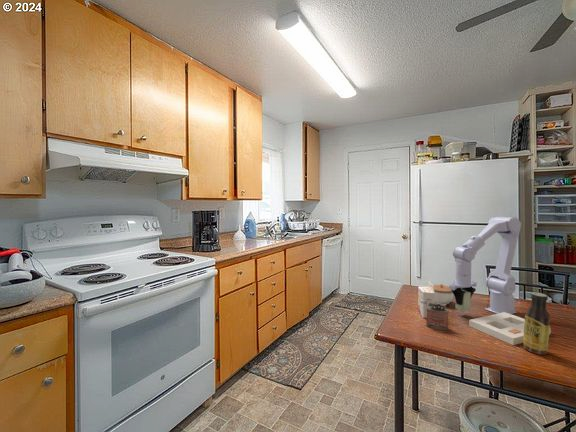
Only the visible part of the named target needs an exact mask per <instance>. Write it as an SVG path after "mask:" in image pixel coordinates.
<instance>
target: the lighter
mask: <svg viewBox="0 0 576 432" xmlns="http://www.w3.org/2000/svg"><path fill="white" fill-rule="evenodd" d="M428 306H432V307H427V308H426V310H427V318H426V323H425V327H426V328H429V329H430V328H431V329H433V330H434V329H435V330H443V331H444V330H449V312H450V310H449V309H447V308H446V305H444V304H440V303H430V302H429V303H428ZM434 307H435V308H434Z"/></svg>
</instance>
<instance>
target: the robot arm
mask: <svg viewBox="0 0 576 432" xmlns="http://www.w3.org/2000/svg"><path fill="white" fill-rule="evenodd" d="M521 228H522V222H521V221H520V219H519V218H518V217H516V216H511V217H508V216H498V215H497V216H492V217H491V218H490V219H489V220H488V223H487V225H486V226H485V227H484V228H483V229H482V230H481V232H479V233H478V235H473V236H470V237H469V239H468V240H467V241H466V242H464V243H463V244H462V245H461V246H457V247H455V248H454V250H453V252H452V256H453V258H454V261H455V280H454V281H453V283H452V284H449V285H448V286H449V289H451V291H452V292H453V297H454V299H455V302H456V303H457V304H458V305H462V303H463V296H464V294H465V292H466V291H468V292H471V298H472V296H473V295H474V293H475V292H476V288H475V287H477V285H478V284H477V283H478V282H477V281H473V280H472V261H473V260H474V259H475V257H476V255H477V253H478V251H480V249H482V248H483V247H484V246H485V245H486V242H485V241H486V240H488V239H489V238H491V237H492V236H493V235H495V234H496V233H497V234H498V235H500V236H501V243H500V247H499V252H498V257H497V261H496V266H495V270H493V271H491V272H489V274H488V277H487V278H486V280H485V285H486V288H487V289H488V291H489V307H485V311H489V312H491V313H495V314H498V313H503V312H506V313H509V314H512V315H514V314H516V313H517V310H516V311H515V302H516V300H515V296H514V293H515V292H516V289H517V287H516V279H515V278H514V276H513V275H512V274H511V271H512V267H513V262H514V258H515V252H516V248H517V243H518V240H519V236H520V232H521ZM463 290H464V291H463Z"/></svg>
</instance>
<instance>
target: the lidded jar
mask: <svg viewBox="0 0 576 432" xmlns="http://www.w3.org/2000/svg"><path fill="white" fill-rule="evenodd" d="M433 285H434V291H435V304H436V303H440V304H444V305H445V306H447V304H448V305H449V304H450V303H451V302H452V301H453V300H454V294H453V292H452V291H451V289H449V285H445V284H433ZM431 287H432V286H431Z"/></svg>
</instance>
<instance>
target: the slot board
mask: <svg viewBox="0 0 576 432" xmlns="http://www.w3.org/2000/svg"><path fill="white" fill-rule="evenodd" d="M524 323H525V318H523V317H520V316H517V315H514V314H509V313H506V312H503V313H498V314H497V313H495V314H490V315H489V314H488V315H485V316H481V317H477V318H472V319H469V320H468V326H469V327H471V328H472V329H475V330H478V331H479V332H482V333H484V334H486V335H489V336H491V337H493V338H495V339H498V340H501V341H502V342H505V343H507V344H510V345H512V346H516V345H520V344H523V336H524ZM551 330H552V329H551V327H550V330H549V336H550V335H551Z"/></svg>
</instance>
